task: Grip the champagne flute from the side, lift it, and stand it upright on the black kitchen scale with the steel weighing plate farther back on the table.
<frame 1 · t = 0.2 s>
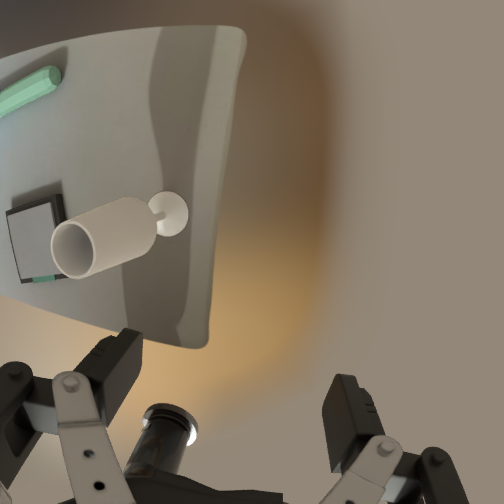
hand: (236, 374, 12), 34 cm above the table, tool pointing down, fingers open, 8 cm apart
scale: (41, 240, 48), on the table
container: (17, 101, 43), on the table
champagne flute: (167, 213, 46), on the table
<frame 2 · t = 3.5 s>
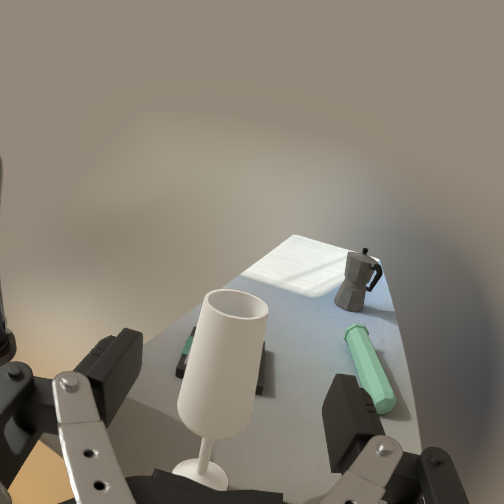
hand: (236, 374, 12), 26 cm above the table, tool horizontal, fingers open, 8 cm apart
scale: (223, 362, 54), on the table
coffeepot: (349, 307, 91), on the table
container: (363, 376, 57), on the table
champagne flute: (199, 480, 30), on the table
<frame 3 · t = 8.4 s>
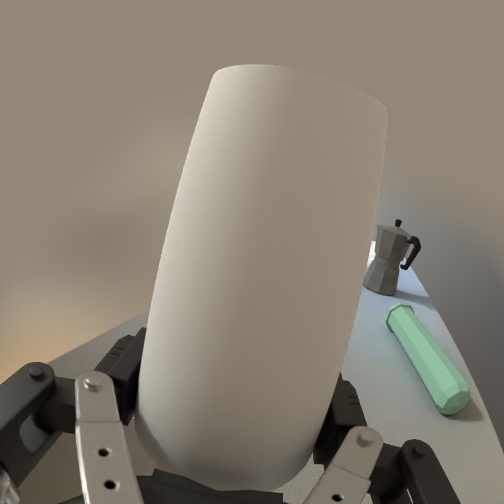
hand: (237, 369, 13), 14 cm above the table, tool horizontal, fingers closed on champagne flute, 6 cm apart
coffeepot: (380, 290, 75), on the table
container: (416, 368, 41), on the table
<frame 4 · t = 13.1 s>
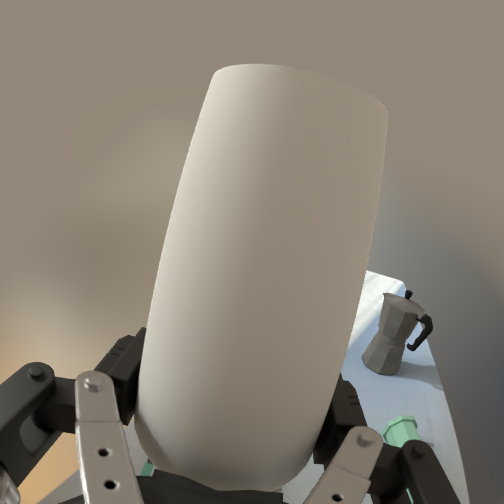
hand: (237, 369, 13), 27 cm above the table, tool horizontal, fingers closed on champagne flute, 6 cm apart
coffeepot: (382, 367, 63), on the table
container: (409, 497, 29), on the table
when the fingers open (16 cm above the table, at t = 17.8 s): champagne flute stays where it is, resting on scale.
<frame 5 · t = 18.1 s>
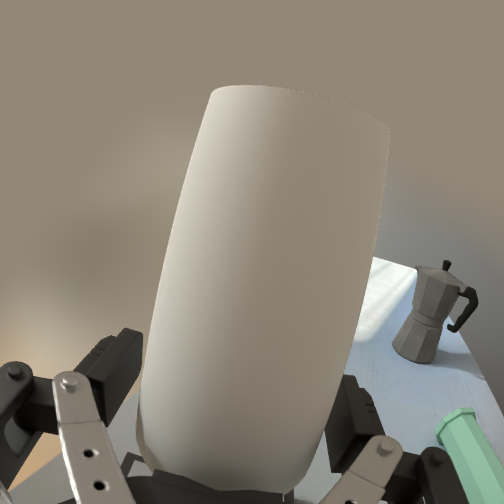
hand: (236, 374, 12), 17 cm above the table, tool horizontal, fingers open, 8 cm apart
coffeepot: (416, 355, 51), on the table
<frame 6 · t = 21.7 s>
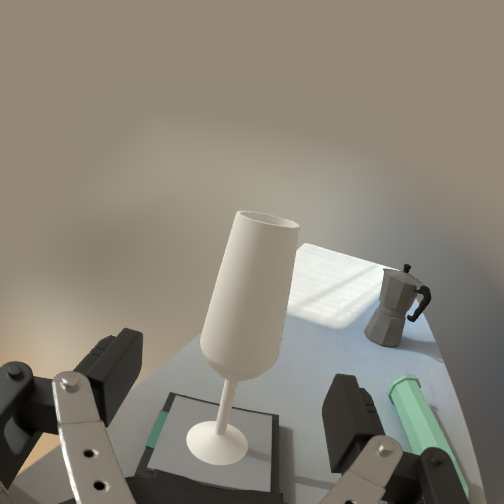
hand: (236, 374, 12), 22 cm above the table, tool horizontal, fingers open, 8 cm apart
scale: (213, 453, 30), on the table
coffeepot: (384, 340, 67), on the table
container: (417, 453, 33), on the table
champagne flute: (217, 443, 30), point 2 cm above the table, touching scale
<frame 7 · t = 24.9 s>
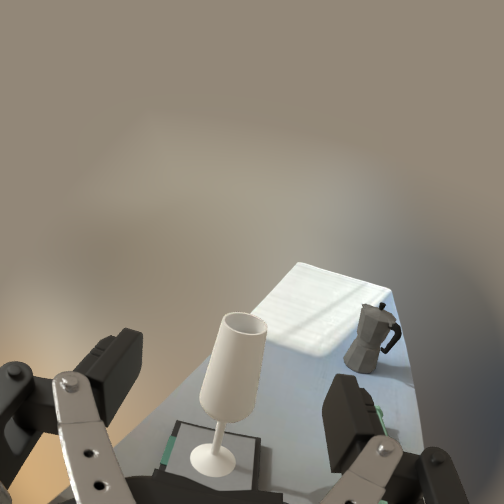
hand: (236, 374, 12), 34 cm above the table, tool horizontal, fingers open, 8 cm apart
scale: (210, 467, 40), on the table
coffeepot: (361, 367, 76), on the table
champagne flute: (212, 460, 39), point 2 cm above the table, touching scale
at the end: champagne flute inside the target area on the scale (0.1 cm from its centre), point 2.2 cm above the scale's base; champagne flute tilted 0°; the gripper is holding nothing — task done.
